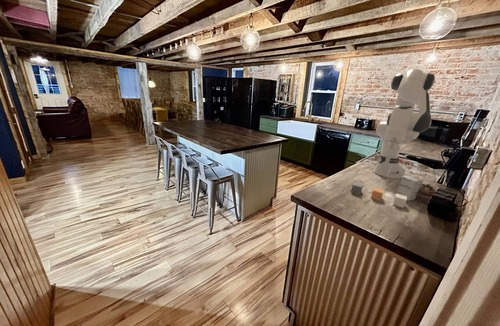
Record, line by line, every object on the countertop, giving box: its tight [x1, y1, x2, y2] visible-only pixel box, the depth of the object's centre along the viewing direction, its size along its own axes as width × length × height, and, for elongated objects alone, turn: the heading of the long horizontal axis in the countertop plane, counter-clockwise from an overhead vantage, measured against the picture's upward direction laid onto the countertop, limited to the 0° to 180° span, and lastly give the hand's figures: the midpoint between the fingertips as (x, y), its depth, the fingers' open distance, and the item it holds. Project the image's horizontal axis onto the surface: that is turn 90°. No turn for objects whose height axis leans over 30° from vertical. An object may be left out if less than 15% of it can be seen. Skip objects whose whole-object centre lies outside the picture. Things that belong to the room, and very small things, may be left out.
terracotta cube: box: [370, 187, 385, 202], centre depth 117 cm, size 5×5×5 cm
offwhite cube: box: [392, 193, 408, 209], centre depth 112 cm, size 5×5×5 cm
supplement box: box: [396, 175, 424, 202], centre depth 119 cm, size 7×7×13 cm
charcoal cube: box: [350, 181, 364, 196], centre depth 123 cm, size 5×5×5 cm
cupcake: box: [415, 183, 437, 204], centre depth 117 cm, size 10×10×10 cm
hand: (387, 161), depth 110 cm, fingers open, 8 cm apart
